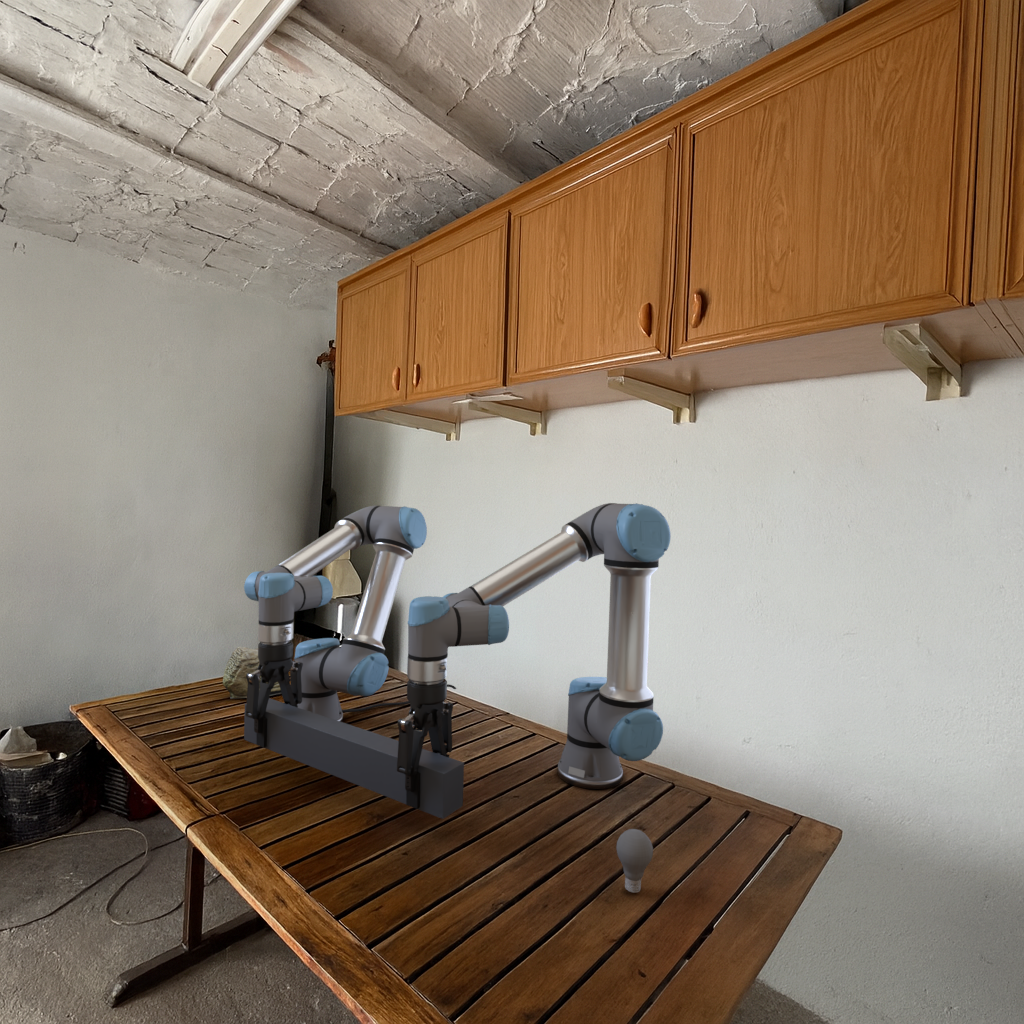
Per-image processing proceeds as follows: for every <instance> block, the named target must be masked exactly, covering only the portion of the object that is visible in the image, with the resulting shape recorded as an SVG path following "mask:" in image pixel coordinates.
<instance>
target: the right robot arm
mask: <svg viewBox="0 0 1024 1024" xmlns="http://www.w3.org/2000/svg"><path fill="white" fill-rule="evenodd" d="M670 545H671V528H670V525H669V521H667V518H666V517H665V516H664V515H663V514H662V512H661V511H660V510H658V509H657V508H655V507H653V506H652V505H651V506H650V505H646V504H642V503H636V502H635V503H616V502H608V503H603V504H600V505H597V506H595V507H593V508H591V509H589V510H588V511H586V512H584V513H582V514H581V515H579V516H578V517H575V518H574V519H572V520H571V521H569V522H567V523H565V524H564V525H562V526H561V530H560V532H559V533H557V534H555V535H554V536H553V537H551V538H549V539H547V540H546V541H544V542H542V543H541V544H539V545H538V546H535V547H534V548H532V549H531V550H529V551H527V552H526V553H524V554H522V555H521V556H518V557H517V558H515V559H514V560H512V561H511V562H509V563H507V564H505V565H503V566H502V567H501V568H499V569H497V570H495V571H494V572H492V573H489V574H488V575H487V576H485V577H483V578H481V579H480V580H479V581H477V582H475V583H473V584H472V585H470V586H468V587H466V588H465V589H463V590H461V591H459V592H450V593H446V594H445V595H443V596H431V595H428V596H427V595H426V596H417V597H415V598H413V599H412V600H411V601H410V603H409V605H408V617H407V664H406V665H407V667H406V669H407V670H406V677H407V679H408V680H407V682H406V699H407V701H409V702H410V703H409V705H410V707H409V711H408V715H406V717H405V718H398V719H397V727H398V728H397V729H398V741H399V743H398V759H397V771H398V772H400V773H403V774H405V789H406V790H407V794H406V804H405V805H406V806H408V807H411V808H414V809H417V810H419V809H418V808H420V777H421V773H419V772H417V771H418V766H419V762H420V757H421V752H422V749H423V747H424V741H425V738H426V737H427V736H428V737H429V741H430V746H431V752H434V753H437V754H440V755H443V756H446V757H449V758H450V756H451V755H450V753H452V751H453V726H452V725H453V723H452V721H453V720H452V717H453V716H452V715H453V709H454V703H453V702H450V701H446V700H447V697H448V687H447V684H448V681H447V680H446V678H447V677H448V655H449V652H448V650H449V648H453V647H466V646H467V647H468V646H483V645H485V646H487V645H488V646H490V645H493V644H495V645H496V644H502V643H504V642H505V641H506V640H507V638H508V636H509V633H510V618H509V613H508V611H507V610H506V608H505V606H506V605H508V604H509V603H511V602H513V601H514V600H516V599H518V598H519V597H521V596H523V595H524V594H526V593H527V592H529V591H531V590H533V589H534V588H535V587H537V586H540V585H541V584H542V583H544V582H546V581H547V580H549V579H550V578H552V577H554V576H555V575H557V574H558V573H561V572H562V571H564V570H565V569H567V568H569V567H570V566H572V565H573V564H575V563H577V562H581V563H585V562H587V561H588V560H590V559H592V558H593V557H597V556H600V555H603V567H604V568H605V569H606V570H607V571H608V572H609V574H610V581H609V585H610V586H609V604H608V605H609V606H608V608H609V609H608V633H607V661H606V663H607V664H606V676H581V677H577V678H574V679H572V680H571V681H570V683H569V688H568V693H567V696H568V704H567V705H568V706H567V730H566V732H567V733H566V742H565V744H564V747H563V749H562V753H561V756H560V758H559V759H558V763H557V775H558V777H559V778H560V779H561V780H563V782H566V783H567V784H568V785H572V786H574V787H577V788H583V789H589V790H607V789H611V788H615V787H617V786H618V785H620V784H621V783H622V781H623V775H624V770H623V769H624V768H623V766H622V764H621V762H620V761H621V760H620V758H621V759H623V760H625V761H628V762H638V761H643V760H645V759H646V758H648V757H649V756H651V755H652V754H653V752H654V751H655V750H657V748H658V747H659V745H660V744H661V741H662V738H663V735H664V724H663V720H662V719H661V717H660V716H659V714H658V713H657V712H656V711H655V710H654V697H655V696H654V695H655V694H654V692H653V691H652V690H651V689H650V687H648V664H649V663H648V661H649V660H648V659H649V641H650V640H649V639H650V637H649V636H650V613H651V612H650V609H651V608H650V607H651V586H652V585H651V584H652V578H651V577H652V575H653V574H654V573H655V572H656V571H657V570H658V569H659V567H660V563H659V561H660V559H661V558H662V557H663V556H664V555H665V552H667V551H668V549H669V547H670ZM448 753H449V754H448ZM411 765H412V767H411Z"/></svg>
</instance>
